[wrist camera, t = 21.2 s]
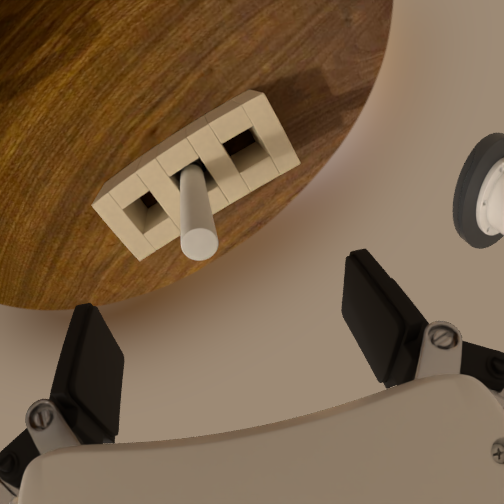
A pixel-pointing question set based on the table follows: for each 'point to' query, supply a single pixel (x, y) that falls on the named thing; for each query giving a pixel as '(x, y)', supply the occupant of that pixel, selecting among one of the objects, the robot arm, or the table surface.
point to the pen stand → (216, 177)
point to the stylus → (196, 214)
